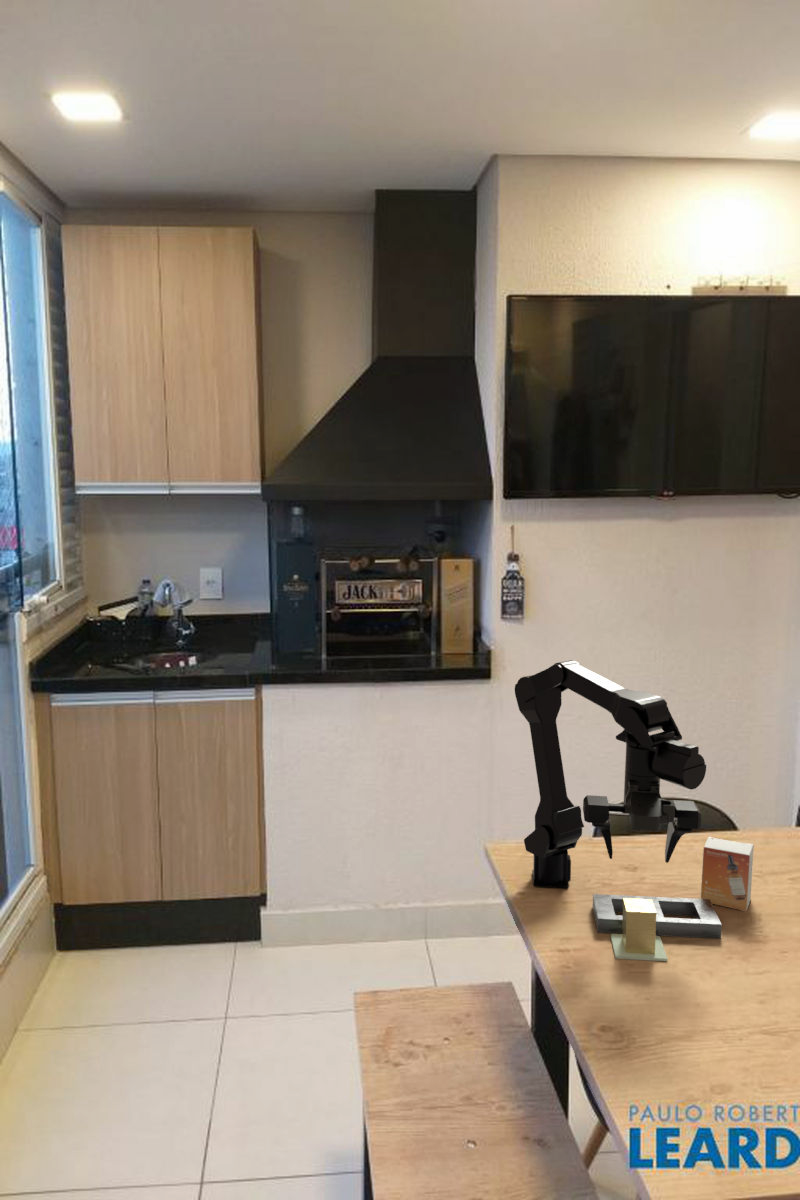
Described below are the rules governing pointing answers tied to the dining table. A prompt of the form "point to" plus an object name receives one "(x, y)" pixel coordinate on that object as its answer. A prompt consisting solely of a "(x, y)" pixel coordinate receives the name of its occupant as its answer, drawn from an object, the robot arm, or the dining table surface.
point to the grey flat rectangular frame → (661, 916)
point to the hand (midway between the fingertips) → (638, 859)
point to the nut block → (639, 926)
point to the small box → (727, 873)
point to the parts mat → (621, 954)
